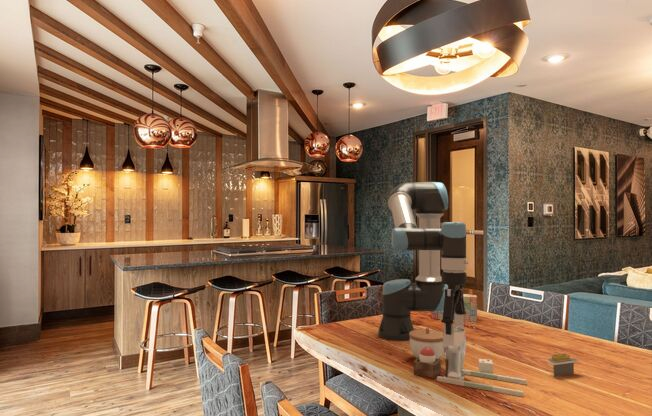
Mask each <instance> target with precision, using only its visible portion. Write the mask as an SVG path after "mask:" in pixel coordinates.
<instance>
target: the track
mask: <svg viewBox="0 0 652 416" xmlns="http://www.w3.org/2000/svg"><path fill="white" fill-rule="evenodd" d="M445 368H446V365H445V366H444V369H445ZM463 371H464V375H467V376H473V377H479V378H485V379H490V380H496V381H503V382H508V383H514V384H520V385H524V386H525V385H527V379H526V378H519V377H512V376H507V375H501V374H495V373H493V374H490V373H484V372H479V370H478V371H476V370H472V369H471V370H470V369H464V368H463ZM436 381H437V382H440V383H447V384H452V385H456V386H461V387H467V388H474V389H478V390H479V389H480V390H484V391H489V392H494V393H495V392H496V393H500V394H506V395H512V396H517V397H524V390H518V389H513V388H508V387H502V386H496V385H490V384H484V383H481V382H476V381H467V380H458V379H452V378H447V377H444V376H441V375H440V376H439V375H438V376H437V377H436Z"/></svg>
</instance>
